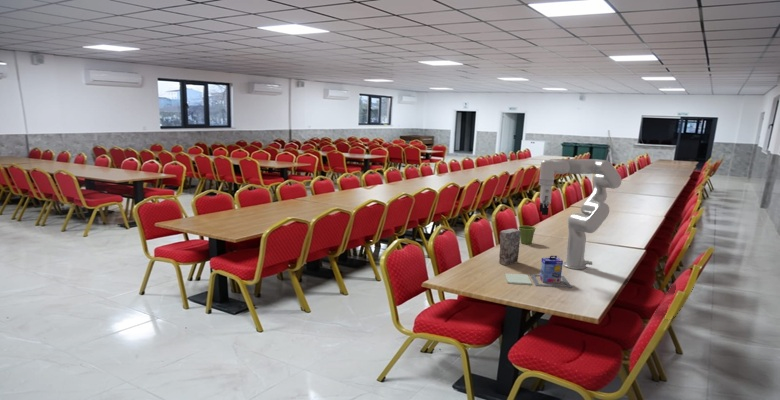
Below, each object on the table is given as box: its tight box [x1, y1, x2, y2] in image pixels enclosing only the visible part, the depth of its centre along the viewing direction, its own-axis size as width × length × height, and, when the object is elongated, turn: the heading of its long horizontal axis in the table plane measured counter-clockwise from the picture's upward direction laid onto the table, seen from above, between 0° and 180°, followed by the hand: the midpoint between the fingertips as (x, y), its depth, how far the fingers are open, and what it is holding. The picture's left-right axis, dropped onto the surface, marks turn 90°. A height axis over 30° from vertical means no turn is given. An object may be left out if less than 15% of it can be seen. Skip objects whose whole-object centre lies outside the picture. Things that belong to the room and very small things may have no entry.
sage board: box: [504, 273, 533, 286], centre depth 253 cm, size 12×14×1 cm
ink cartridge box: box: [539, 255, 564, 284], centre depth 251 cm, size 10×6×14 cm, turn 95°
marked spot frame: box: [529, 273, 573, 289], centre depth 253 cm, size 18×18×1 cm
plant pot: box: [518, 225, 537, 245], centre depth 330 cm, size 12×12×11 cm
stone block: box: [498, 228, 521, 266], centre depth 282 cm, size 13×7×20 cm, turn 135°
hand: (543, 213), depth 264 cm, fingers open, 9 cm apart
